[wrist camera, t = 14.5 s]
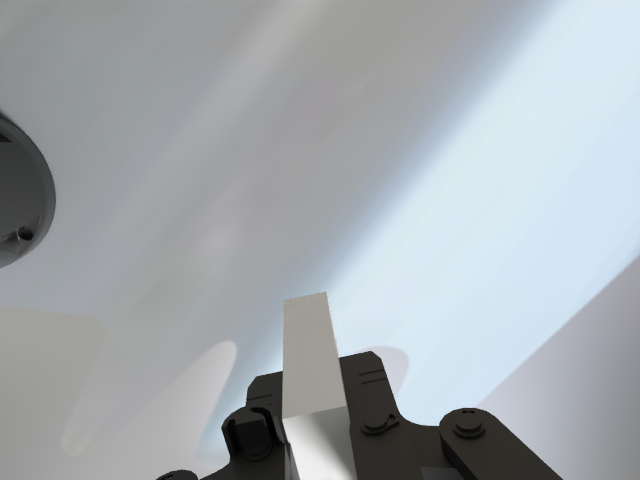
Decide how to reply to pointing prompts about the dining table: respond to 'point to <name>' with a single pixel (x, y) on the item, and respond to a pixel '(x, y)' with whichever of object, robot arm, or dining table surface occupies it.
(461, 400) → the dining table surface
